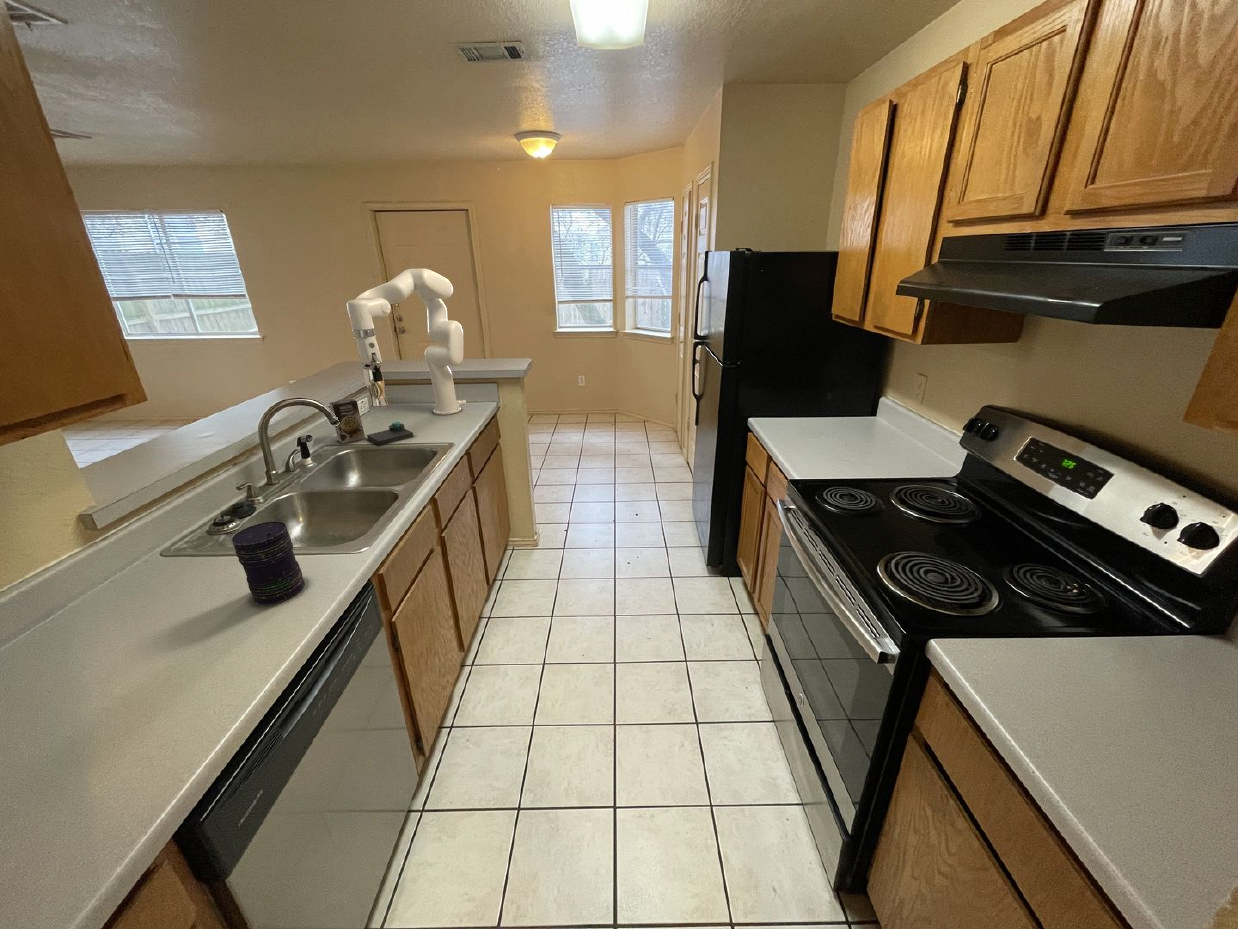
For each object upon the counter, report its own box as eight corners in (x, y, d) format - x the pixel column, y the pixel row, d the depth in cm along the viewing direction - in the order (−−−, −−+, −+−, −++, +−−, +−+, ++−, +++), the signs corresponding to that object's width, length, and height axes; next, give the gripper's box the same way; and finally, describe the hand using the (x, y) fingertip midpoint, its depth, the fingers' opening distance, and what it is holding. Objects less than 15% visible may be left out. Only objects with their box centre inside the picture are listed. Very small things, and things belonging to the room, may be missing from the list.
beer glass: (366, 406, 200) (357, 369, 194) (378, 402, 206) (370, 365, 201) (380, 407, 198) (372, 369, 193) (393, 403, 204) (385, 366, 199)
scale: (401, 430, 218) (400, 422, 217) (414, 436, 210) (413, 428, 209) (367, 439, 209) (365, 430, 207) (379, 445, 201) (377, 437, 199)
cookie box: (342, 444, 204) (332, 405, 198) (338, 440, 208) (328, 402, 202) (366, 438, 209) (357, 400, 203) (361, 435, 214) (352, 397, 208)
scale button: (398, 424, 215) (397, 421, 214) (401, 426, 213) (400, 422, 212) (391, 426, 213) (390, 423, 213) (394, 428, 211) (393, 424, 211)
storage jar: (242, 599, 110) (219, 540, 104) (285, 574, 118) (265, 518, 112) (274, 609, 106) (252, 548, 100) (315, 583, 115) (297, 525, 109)
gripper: (383, 334, 188) (393, 381, 195) (365, 331, 200) (375, 375, 207) (362, 336, 184) (373, 385, 190) (345, 333, 195) (356, 379, 202)
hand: (374, 379), depth 198 cm, fingers closed on beer glass, 7 cm apart
